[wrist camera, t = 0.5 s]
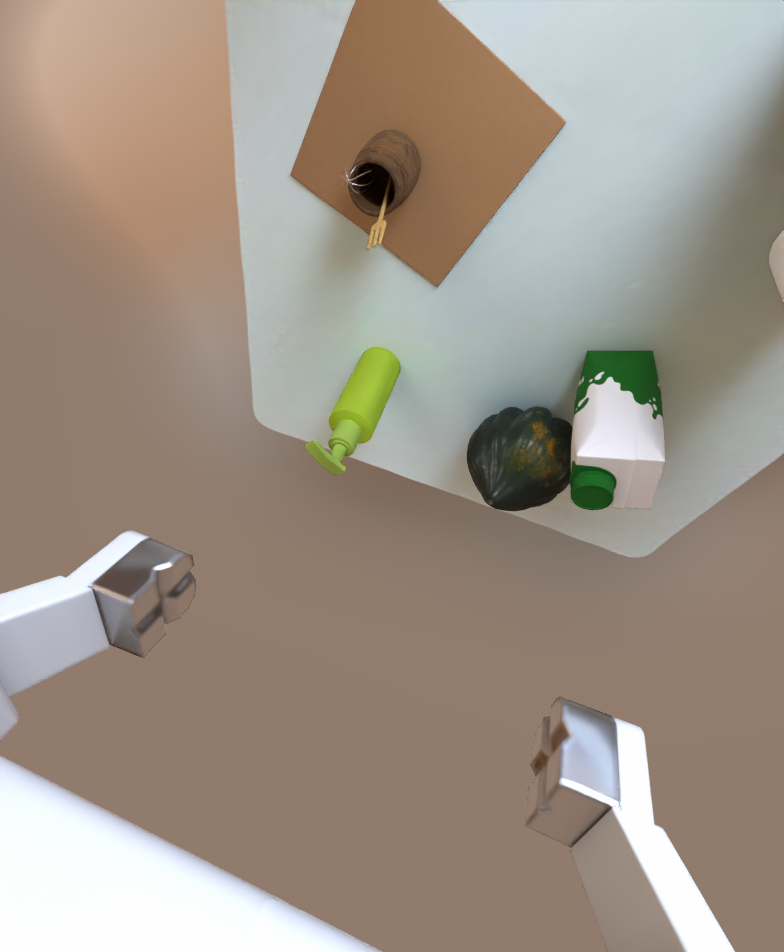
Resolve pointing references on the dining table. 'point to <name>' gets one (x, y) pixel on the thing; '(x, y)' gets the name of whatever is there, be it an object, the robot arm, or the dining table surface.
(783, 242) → the cylindrical container
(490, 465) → the squash
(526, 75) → the dining table surface
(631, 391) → the milk carton
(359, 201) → the utensil holder
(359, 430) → the soap dispenser
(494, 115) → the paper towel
